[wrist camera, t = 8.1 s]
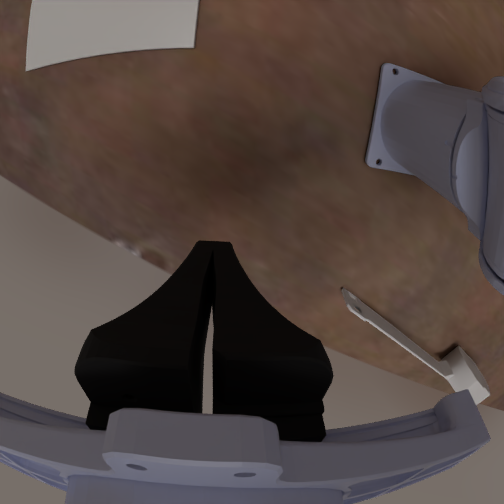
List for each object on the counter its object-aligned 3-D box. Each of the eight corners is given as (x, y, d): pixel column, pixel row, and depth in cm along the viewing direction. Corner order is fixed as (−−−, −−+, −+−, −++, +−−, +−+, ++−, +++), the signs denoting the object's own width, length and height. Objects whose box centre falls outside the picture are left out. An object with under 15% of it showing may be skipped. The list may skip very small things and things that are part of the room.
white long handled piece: (363, 243, 28) (334, 271, 30) (393, 295, 21) (354, 328, 23) (480, 363, 39) (462, 376, 41) (497, 396, 32) (478, 410, 34)
